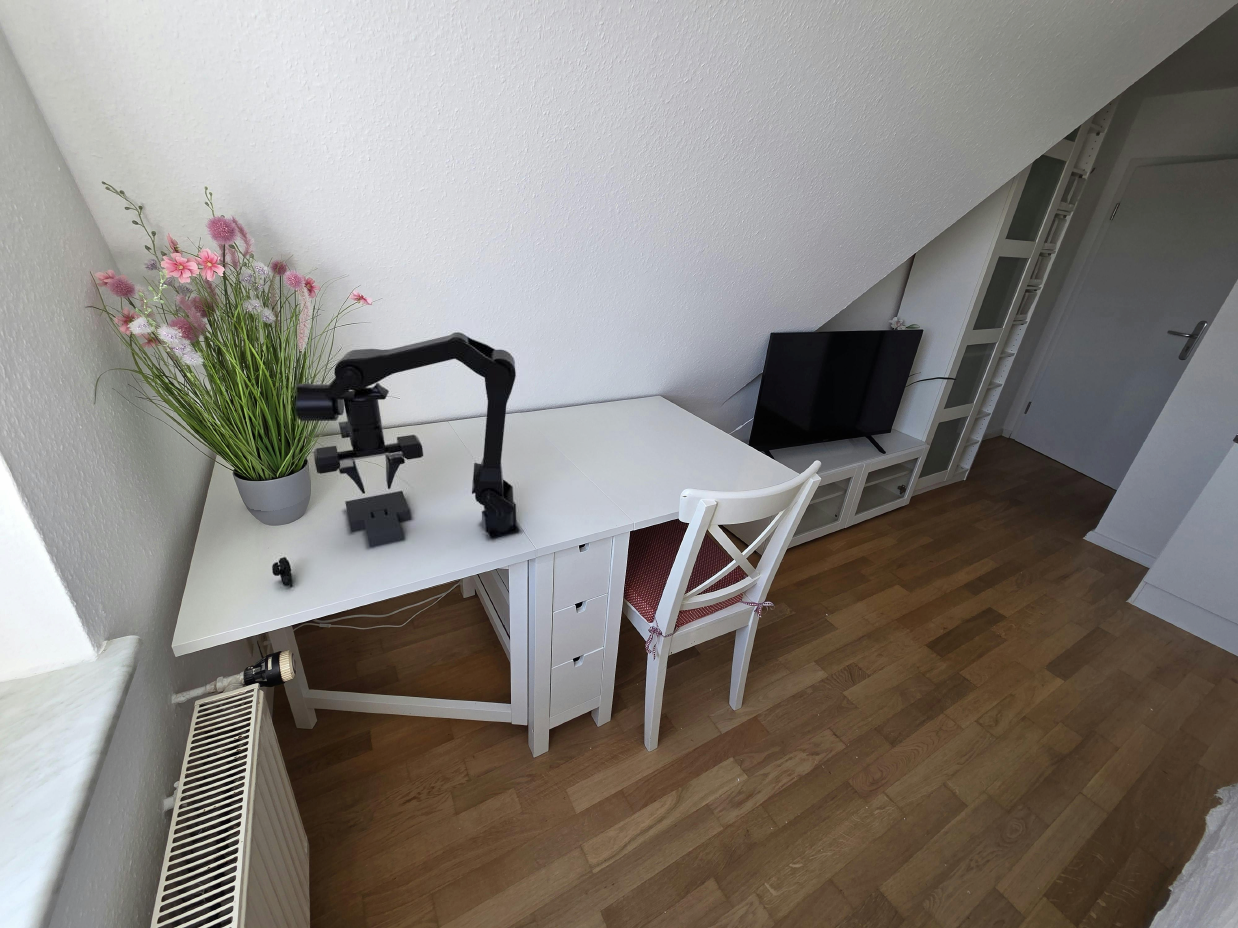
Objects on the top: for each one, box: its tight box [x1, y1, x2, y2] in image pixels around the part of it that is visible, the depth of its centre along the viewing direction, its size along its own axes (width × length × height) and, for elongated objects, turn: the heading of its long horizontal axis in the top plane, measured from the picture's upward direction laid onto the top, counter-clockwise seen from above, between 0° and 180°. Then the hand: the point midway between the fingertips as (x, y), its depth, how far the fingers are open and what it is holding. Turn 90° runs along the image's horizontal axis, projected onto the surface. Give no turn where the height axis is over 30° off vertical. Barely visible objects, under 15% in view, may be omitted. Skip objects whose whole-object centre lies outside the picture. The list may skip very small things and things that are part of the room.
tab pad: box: [364, 510, 404, 548], centre depth 109 cm, size 6×9×2 cm
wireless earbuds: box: [271, 556, 294, 588], centre depth 93 cm, size 7×2×5 cm, turn 32°
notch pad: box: [344, 490, 411, 533], centre depth 114 cm, size 12×9×2 cm
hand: (376, 490), depth 103 cm, fingers open, 4 cm apart
